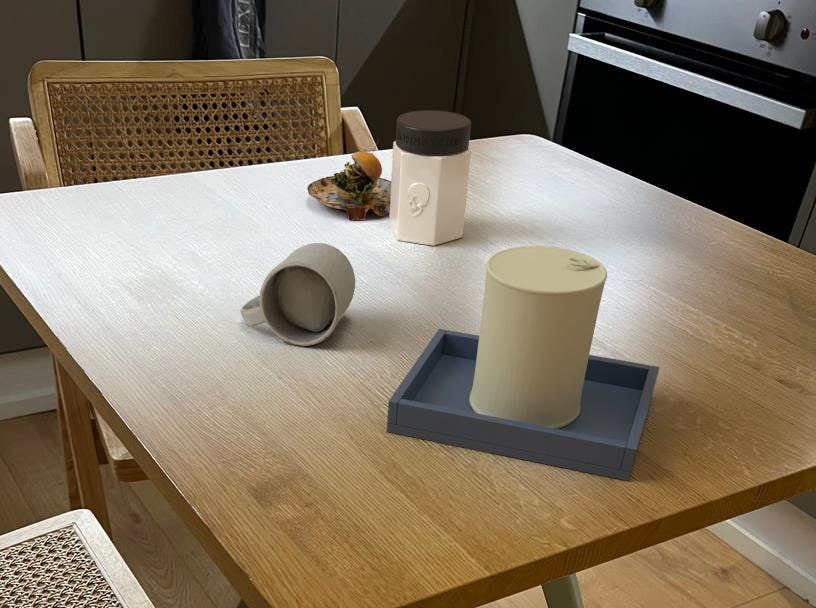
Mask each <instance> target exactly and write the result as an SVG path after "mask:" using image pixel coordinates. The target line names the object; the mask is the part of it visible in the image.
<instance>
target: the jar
mask: <svg viewBox="0 0 816 608" xmlns="http://www.w3.org/2000/svg"><path fill="white" fill-rule="evenodd" d="M471 128H472V121H471V119H469V118H468V117H466V116H464V115H463V114H459V113H455V112H451V111H446V110H445V111H444V110H415V111H408V112H405V113H402V114H400V115H399V116H398V117H397V119H396V128H395V129H396V130H395V133H396V134H395V140H394V141H393V144H392V160H391V161H392V162H391V178H390V179H391V180H390V181H391V198H390V214H389V218H388V226H389V229H390V230H391V231H392V234H393V236H394V237H395V239H396V240H397V241H398V242H399V241H400V242H405V243H413V244H419V245H426V246H431V247H435V246H438V245H441V244H445V243H449V242H452V241H455V240H458V239H461V238H463V234H464V224H465V215H466V206H467V196H468V187H469V179H470V178H469V177H470V168H471V158H472V151H471V150H470V148H469V147H470V139H471V138H470V137H471Z"/></svg>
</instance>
